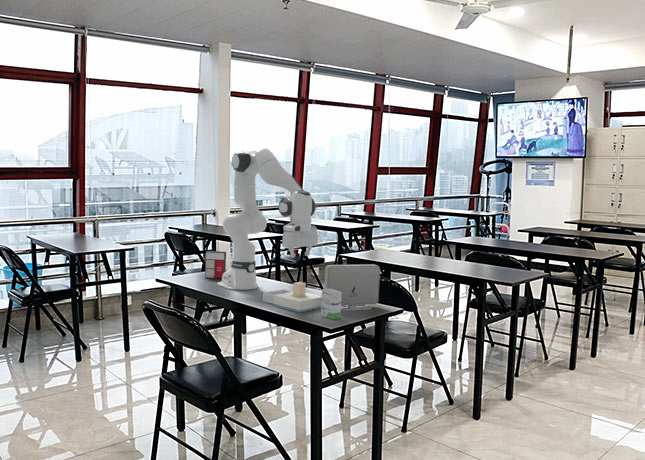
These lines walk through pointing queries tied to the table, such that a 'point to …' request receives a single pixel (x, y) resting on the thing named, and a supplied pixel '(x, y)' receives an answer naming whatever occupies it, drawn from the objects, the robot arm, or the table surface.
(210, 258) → the red and grey box
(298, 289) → the plug
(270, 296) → the holster
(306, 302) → the block
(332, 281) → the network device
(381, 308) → the table surface
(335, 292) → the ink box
